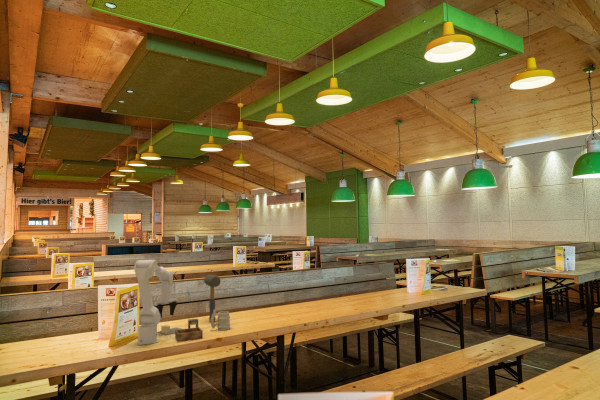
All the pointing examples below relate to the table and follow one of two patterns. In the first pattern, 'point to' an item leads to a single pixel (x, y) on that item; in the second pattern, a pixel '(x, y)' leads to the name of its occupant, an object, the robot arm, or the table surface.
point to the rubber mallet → (212, 291)
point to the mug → (221, 320)
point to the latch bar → (193, 322)
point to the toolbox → (189, 332)
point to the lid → (167, 330)
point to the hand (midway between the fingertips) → (166, 316)
